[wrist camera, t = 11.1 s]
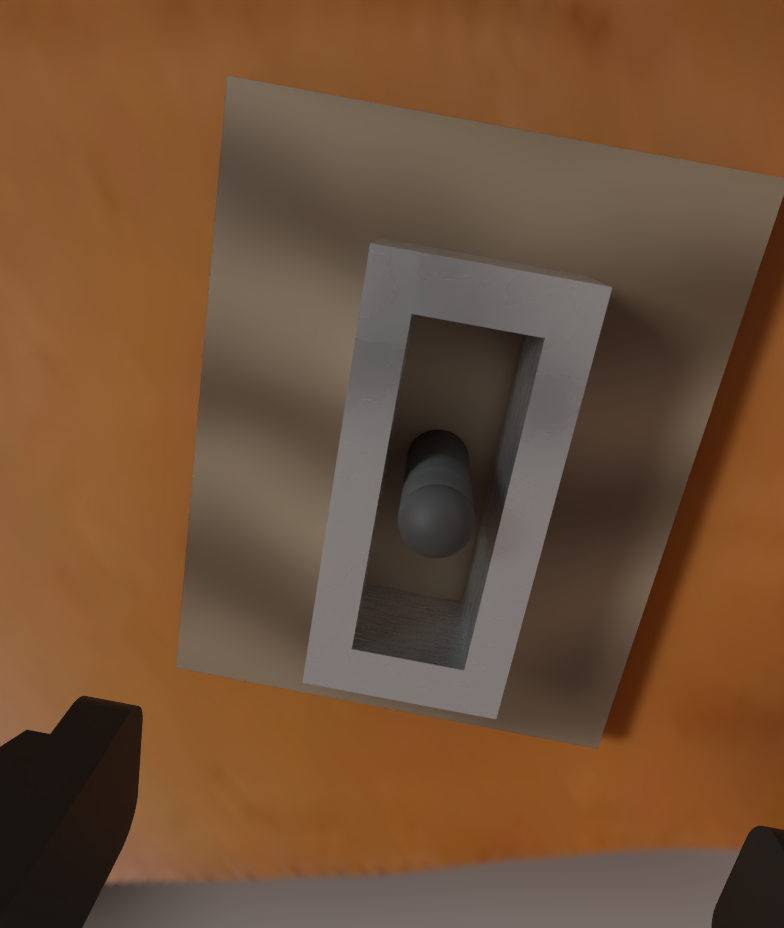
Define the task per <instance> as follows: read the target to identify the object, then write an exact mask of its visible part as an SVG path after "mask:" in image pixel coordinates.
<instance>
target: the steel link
mask: <svg viewBox="0 0 784 928" xmlns="http://www.w3.org/2000/svg"><path fill="white" fill-rule="evenodd" d="M611 291H612V287H611V286H608V285H606V284H604V283H601V282H599V281H596V280H594V279H592V278H589V277H587V276H584V275H581V274H575V273H570V272H565V271H559V270H554V269H548V268H543V267H537V266H532V265H526V264H521V263H515V262H510V261H504V260H499V259H493V258H488V257H482V256H477V255H471V254H466V253H460V252H455V251H450V250H444V249H439V248H433V247H428V246H422V245H417V244H411V243H406V242H400V241H395V240H389V239H384V238H383V239H380V240H377V241H374V242H371V243H370V247H369V254H368V260H367V267H366V273H365V280H364V286H363V293H362V299H361V306H360V312H359V319H358V325H357V331H356V338H355V344H354V351H353V357H352V364H351V370H350V377H349V383H348V390H347V396H346V403H345V409H344V416H343V422H342V429H341V435H340V442H339V448H338V455H337V461H336V468H335V474H334V481H333V487H332V494H331V500H330V507H329V513H328V520H327V526H326V533H325V539H324V546H323V552H322V559H321V565H320V572H319V578H318V585H317V591H316V598H315V604H314V610H313V617H312V623H311V630H310V636H309V643H308V649H307V656H306V662H305V669H304V675H303V682H302V683H307V684H312V685H317V686H323V687H328V688H333V689H338V690H344V691H349V692H354V693H360V694H365V695H370V696H375V697H381V698H386V699H391V700H396V701H402V702H407V703H412V704H418V705H423V706H428V707H433V708H439V709H444V710H449V711H454V712H460V713H465V714H470V715H476V716H481V717H486V718H491V719H497V715H498V711H499V707H500V704H501V700H502V696H503V693H504V689H505V685H506V681H507V678H508V674H509V670H510V666H511V663H512V659H513V655H514V652H515V648H516V644H517V640H518V637H519V633H520V629H521V626H522V622H523V618H524V614H525V611H526V607H527V603H528V599H529V596H530V592H531V588H532V585H533V581H534V577H535V573H536V570H537V566H538V562H539V559H540V555H541V551H542V547H543V544H544V540H545V536H546V532H547V529H548V525H549V521H550V518H551V514H552V510H553V506H554V503H555V499H556V495H557V492H558V488H559V484H560V480H561V477H562V473H563V469H564V465H565V462H566V458H567V454H568V451H569V447H570V443H571V439H572V436H573V432H574V428H575V425H576V421H577V417H578V413H579V410H580V406H581V402H582V398H583V395H584V391H585V387H586V384H587V380H588V376H589V372H590V369H591V365H592V361H593V358H594V354H595V350H596V346H597V343H598V339H599V335H600V331H601V328H602V324H603V320H604V317H605V313H606V309H607V305H608V302H609V298H610V294H611ZM414 314H415V315H421V316H426V317H432V318H437V319H443V320H448V321H453V322H459V323H464V324H470V325H475V326H481V327H486V328H492V329H497V330H502V331H508V332H513V333H519V334H524V335H523V340H522V344H521V348H520V353H519V357H518V361H517V365H516V370H515V374H514V378H513V383H512V387H511V391H510V395H509V400H508V404H507V408H506V413H505V417H504V421H503V426H502V430H501V434H500V438H499V443H498V447H497V451H496V456H495V460H494V464H493V468H492V473H491V477H490V481H489V486H488V490H487V494H486V498H485V503H484V507H483V511H482V516H481V520H480V524H479V529H478V533H477V537H476V541H475V546H474V550H473V554H472V559H471V563H470V567H469V571H468V576H467V580H466V584H465V589H464V593H463V597H462V602H458V601H453V600H447V599H442V598H437V597H431V596H426V595H421V594H416V593H410V592H405V591H400V590H394V589H389V588H384V587H378V586H373V585H368V584H366V580H367V575H368V569H369V564H370V558H371V553H372V547H373V542H374V536H375V530H376V525H377V519H378V514H379V508H380V503H381V497H382V492H383V486H384V480H385V475H386V469H387V464H388V458H389V453H390V447H391V441H392V436H393V430H394V425H395V419H396V414H397V408H398V403H399V397H400V391H401V386H402V380H403V375H404V369H405V364H406V358H407V352H408V347H409V341H410V336H411V330H412V325H413V319H414Z"/></svg>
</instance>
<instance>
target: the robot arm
mask: <svg viewBox="0 0 784 928" xmlns="http://www.w3.org/2000/svg"><path fill="white" fill-rule="evenodd" d="M142 719H143V715H142V709H141V707H139V706H136V705H130V704H125V703H120V702H115V701H109V700H104V699H99V698H93V697H88V696H82V697H80V698H78V699H77V700H76V701H75V702H74V703H73V705H72V706H71V707H70V709H69V710H68V711H67V713H66V714H65V715H64V717H63V718H62V719H61V721H60V722H59V723H58V725H57V726H56V727H55V729H54V730H53V731H52V733H51V734H47V733H41V732H36V731H31V730H26V731H24V732H22V733H21V734H19V735H18V736H16V737H15V738H13V739H12V740H10V741H9V742H7V743H5V744H4V745H2V746H1V747H0V928H82V927H83V925H84V923H85V921H86V919H87V917H88V915H89V913H90V911H91V909H92V907H93V906H94V904H95V901H96V899H97V898H98V896H99V894H100V891H101V890H102V888H103V886H104V884H105V882H106V880H107V878H108V876H109V874H110V872H111V870H112V868H113V866H114V864H115V862H116V860H117V858H118V856H119V854H120V852H121V850H122V848H123V846H124V843H125V841H126V838H127V836H128V833H129V830H130V827H131V824H132V820H133V817H134V813H135V809H136V804H137V797H138V784H139V768H140V752H141V736H142ZM712 928H784V830H781V829H776V828H771V827H765V826H757V827H755V828H753V829H752V830H751V831H750V832H749V834H748V836H747V838H746V840H745V842H744V844H743V847H742V849H741V851H740V853H739V855H738V858H737V860H736V862H735V865H734V866H733V869H732V871H731V873H730V875H729V878H728V880H727V882H726V884H725V886H724V889H723V891H722V893H721V895H720V897H719V900H718V902H717V904H716V907H715V909H714V913H713V918H712Z"/></svg>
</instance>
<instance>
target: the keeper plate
mask: <svg viewBox="0 0 784 928" xmlns="http://www.w3.org/2000/svg"><path fill="white" fill-rule="evenodd" d="M783 196H784V178H780V177H775V176H770V175H764V174H759V173H753V172H748V171H742V170H737V169H732V168H726V167H721V166H715V165H710V164H704V163H699V162H694V161H688V160H683V159H677V158H672V157H666V156H661V155H656V154H650V153H645V152H639V151H634V150H628V149H623V148H618V147H612V146H607V145H601V144H596V143H591V142H585V141H580V140H574V139H569V138H563V137H558V136H553V135H547V134H542V133H536V132H531V131H525V130H520V129H515V128H509V127H504V126H498V125H493V124H487V123H482V122H477V121H471V120H466V119H460V118H455V117H449V116H444V115H439V114H433V113H428V112H422V111H417V110H411V109H406V108H401V107H395V106H390V105H384V104H379V103H373V102H368V101H363V100H357V99H352V98H346V97H341V96H335V95H330V94H325V93H319V92H314V91H308V90H303V89H297V88H292V87H287V86H281V85H276V84H270V83H265V82H259V81H254V80H249V79H243V78H238V77H232V76H227V84H226V96H225V107H224V119H223V131H222V142H221V154H220V165H219V177H218V188H217V200H216V212H215V223H214V235H213V246H212V258H211V270H210V281H209V293H208V304H207V316H206V327H205V339H204V351H203V362H202V374H201V385H200V397H199V409H198V420H197V432H196V443H195V455H194V467H193V478H192V490H191V501H190V513H189V524H188V536H187V548H186V559H185V571H184V582H183V594H182V606H181V617H180V629H179V640H178V652H177V663H176V668H181V669H186V670H191V671H196V672H201V673H207V674H212V675H217V676H222V677H227V678H233V679H238V680H243V681H248V682H253V683H258V684H264V685H269V686H274V687H279V688H284V689H290V690H295V691H300V692H305V693H310V694H316V695H321V696H326V697H331V698H336V699H342V700H347V701H352V702H357V703H362V704H368V705H373V706H378V707H383V708H388V709H394V710H399V711H404V712H409V713H414V714H420V715H425V716H430V717H435V718H440V719H445V720H451V721H456V722H461V723H466V724H471V725H477V726H482V727H487V728H492V729H497V730H503V731H508V732H513V733H518V734H523V735H529V736H534V737H539V738H544V739H549V740H555V741H560V742H565V743H570V744H575V745H581V746H586V747H591V748H596V749H598V746H599V743H600V740H601V737H602V734H603V731H604V728H605V725H606V722H607V719H608V716H609V713H610V710H611V707H612V704H613V701H614V698H615V695H616V692H617V689H618V686H619V683H620V680H621V677H622V674H623V671H624V668H625V665H626V662H627V659H628V656H629V653H630V650H631V648H632V645H633V642H634V639H635V636H636V633H637V630H638V627H639V624H640V621H641V618H642V615H643V612H644V609H645V606H646V603H647V600H648V597H649V594H650V591H651V588H652V585H653V582H654V579H655V576H656V573H657V570H658V567H659V564H660V561H661V558H662V555H663V552H664V549H665V546H666V544H667V541H668V538H669V535H670V532H671V529H672V526H673V523H674V520H675V517H676V514H677V511H678V508H679V505H680V502H681V499H682V496H683V493H684V490H685V487H686V484H687V481H688V478H689V475H690V472H691V469H692V466H693V463H694V460H695V457H696V454H697V451H698V448H699V445H700V442H701V440H702V437H703V434H704V431H705V428H706V425H707V422H708V419H709V416H710V413H711V410H712V407H713V404H714V401H715V398H716V395H717V392H718V389H719V386H720V383H721V380H722V377H723V374H724V371H725V368H726V365H727V362H728V359H729V356H730V353H731V350H732V347H733V344H734V341H735V338H736V336H737V333H738V330H739V327H740V324H741V321H742V318H743V315H744V312H745V309H746V306H747V303H748V300H749V297H750V294H751V291H752V288H753V285H754V282H755V279H756V276H757V273H758V270H759V267H760V264H761V261H762V258H763V255H764V252H765V249H766V246H767V243H768V240H769V237H770V234H771V232H772V229H773V226H774V223H775V220H776V217H777V214H778V211H779V208H780V205H781V202H782V199H783ZM383 238H384V239H389V240H395V241H400V242H406V243H411V244H417V245H422V246H428V247H433V248H439V249H444V250H450V251H455V252H460V253H466V254H471V255H477V256H482V257H488V258H493V259H499V260H504V261H510V262H515V263H521V264H526V265H532V266H537V267H543V268H548V269H554V270H559V271H565V272H570V273H575V274H581V275H584V276H587V277H589V278H592V279H594V280H596V281H599V282H601V283H604V284H606V285H608V286H611V287H612V291H611V294H610V298H609V302H608V305H607V309H606V313H605V317H604V320H603V324H602V328H601V331H600V335H599V339H598V343H597V346H596V350H595V354H594V358H593V361H592V365H591V369H590V372H589V376H588V380H587V384H586V387H585V391H584V395H583V398H582V402H581V406H580V410H579V413H578V417H577V421H576V425H575V428H574V432H573V436H572V439H571V443H570V447H569V451H568V454H567V458H566V462H565V465H564V469H563V473H562V477H561V480H560V484H559V488H558V492H557V495H556V499H555V503H554V506H553V510H552V514H551V518H550V521H549V525H548V529H547V532H546V536H545V540H544V544H543V547H542V551H541V555H540V559H539V562H538V566H537V570H536V573H535V577H534V581H533V585H532V588H531V592H530V596H529V599H528V603H527V607H526V611H525V614H524V618H523V622H522V626H521V629H520V633H519V637H518V640H517V644H516V648H515V652H514V655H513V659H512V663H511V666H510V670H509V674H508V678H507V681H506V685H505V689H504V693H503V696H502V700H501V704H500V707H499V711H498V715H497V719H491V718H486V717H481V716H476V715H470V714H465V713H460V712H454V711H449V710H444V709H439V708H433V707H428V706H423V705H418V704H412V703H407V702H402V701H396V700H391V699H386V698H381V697H375V696H370V695H365V694H360V693H354V692H349V691H344V690H338V689H333V688H328V687H323V686H317V685H312V684H307V683H302V682H303V675H304V669H305V662H306V656H307V649H308V643H309V636H310V630H311V623H312V617H313V610H314V604H315V598H316V591H317V585H318V578H319V572H320V565H321V559H322V552H323V546H324V539H325V533H326V526H327V520H328V513H329V507H330V500H331V494H332V487H333V481H334V474H335V468H336V461H337V455H338V448H339V442H340V435H341V429H342V422H343V416H344V409H345V403H346V396H347V390H348V383H349V377H350V370H351V364H352V357H353V351H354V344H355V338H356V331H357V325H358V319H359V312H360V306H361V299H362V293H363V286H364V280H365V273H366V267H367V260H368V254H369V247H370V243H371V242H374V241H377V240H380V239H383ZM523 335H524V334H519V333H513V332H508V331H502V330H497V329H492V328H486V327H481V326H475V325H470V324H464V323H459V322H453V321H448V320H443V319H437V318H432V317H426V316H421V315H415V314H414V319H413V325H412V330H411V336H410V341H409V347H408V352H407V358H406V364H405V369H404V375H403V380H402V386H401V391H400V397H399V403H398V408H397V414H396V419H395V425H394V430H393V436H392V441H391V447H390V453H389V458H388V464H387V469H386V475H385V480H384V486H383V492H382V497H381V503H380V508H379V514H378V519H377V525H376V530H375V536H374V542H373V547H372V553H371V558H370V564H369V569H368V575H367V580H366V584H368V585H373V586H378V587H384V588H389V589H394V590H400V591H405V592H410V593H416V594H421V595H426V596H431V597H437V598H442V599H447V600H453V601H458V602H462V597H463V593H464V589H465V584H466V580H467V576H468V571H469V567H470V563H471V559H472V554H473V550H474V546H475V541H476V537H477V533H478V529H479V524H480V520H481V516H482V511H483V507H484V503H485V498H486V494H487V490H488V486H489V481H490V477H491V473H492V468H493V464H494V460H495V456H496V451H497V447H498V443H499V438H500V434H501V430H502V426H503V421H504V417H505V413H506V408H507V404H508V400H509V395H510V391H511V387H512V383H513V378H514V374H515V370H516V365H517V361H518V357H519V353H520V348H521V344H522V340H523Z"/></svg>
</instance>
